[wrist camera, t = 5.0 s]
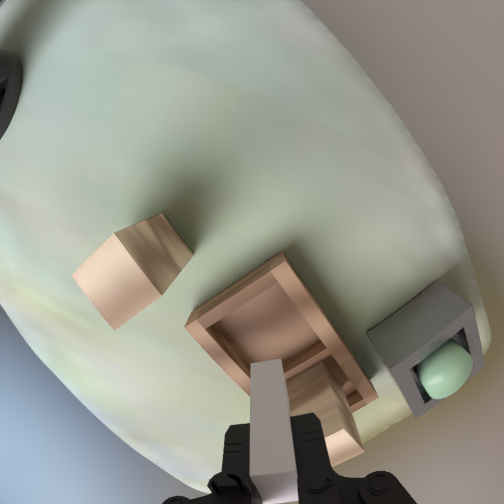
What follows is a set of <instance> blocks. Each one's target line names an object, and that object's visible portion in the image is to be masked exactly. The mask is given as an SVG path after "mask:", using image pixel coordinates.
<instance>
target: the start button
mask: <svg viewBox="0 0 504 504" xmlns="http://www.w3.org/2000/svg"><path fill="white" fill-rule="evenodd" d="M472 367H473V359H472V357H471V355H470V354H469V353H468V352H467V351H466V350H465V349H464V348H463V347H462V346H461V345H460V344H458V343H457V342H456V341H455V340H454V339H451V338H450V339H449V340H447V341H446V342H445V343H444V344H442V345H441V346H440V347H439V348H437V349H436V350H435V351H434V352H432V353H431V354H430V355H428V356H427V357H426V358H424V359H423V360H422V361H420V362H419V363H418V365H417V369H416V375H417V378H418V379H419V381H420V382H421V384H422V385H423V387H424V388H425V389H426V391H427V392H428V394H429V395H430V396H431V397H432V398H434V399H442V398H445V397H447V396H449V395H451V394H453V393H454V392H455V391H457V390H458V389H459V388H460V387H461V386H462V385H463V384H464V382H465V381H466V380H467V378H468V377H469V375H470V373H471V370H472Z"/></svg>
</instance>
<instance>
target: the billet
mask: <svg viewBox="0 0 504 504" xmlns="http://www.w3.org/2000/svg"><path fill="white" fill-rule="evenodd" d="M192 257H193V254H192V252H191V251H190V250H189V248H188V247H187V246H186V244H185V243H184V242H183V241H182V239H181V238H180V237H179V235H178V234H177V233H176V231H175V230H174V229H173V227H172V226H171V225H170V223H169V222H168V220H167V219H166V218H165V216H164V215H163V214H162V213H161V214H159V215H156V216H154V217H151V218H149V219H146V220H144V221H141V222H139V223H137V224H134V225H132V226H130V227H127V228H125V229H123V230H120V231H118V232H116V233H114V234H113V235H112V236H111V237H110V238H108V239H107V240H106V241H105V242H104V243H103V244H102V245H101V246H100V247H99V248H98V249H97V250H96V251H95V252H94V253H93V254H92V255H91V256H90V257H89V258H88V259H87V260H86V261H85V262H84V263H83V264H82V265H81V266H80V267H79V268H78V269H77V270H76V271H75V272H74V273H73V274H72V277H73V278H74V279H75V281H76V282H77V284H78V285H79V286H80V288H81V289H82V290H83V292H84V293H85V294H86V296H87V297H88V298H89V300H90V301H91V302H92V304H93V305H94V306H95V307H96V309H97V310H98V311H99V312H100V314H101V315H102V316H103V317H104V319H105V320H106V321H107V322H108V323H109V325H110V326H111V327H112V328H113V329H114V331H115V330H116V329H117V328H119V327H120V326H121V325H123V324H124V323H126V322H127V321H128V320H130V319H131V318H132V317H134V316H135V315H136V314H138V313H139V312H140V311H142V310H143V309H145V308H146V307H147V306H149V305H150V304H151V303H153V302H154V301H155V300H157V299H158V298H160V297H161V296H162V295H163V294H164V292H165V291H166V290H167V288H168V287H169V286H170V285H171V283H172V282H173V281H174V279H175V278H176V277H177V276H178V274H179V273H180V272H181V270H182V269H183V268H184V267H185V265H186V264H187V263H188V262H189V260H190V259H191V258H192Z"/></svg>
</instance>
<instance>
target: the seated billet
mask: <svg viewBox="0 0 504 504" xmlns="http://www.w3.org/2000/svg"><path fill="white" fill-rule="evenodd" d="M285 382H286V387H287V392H288V398H289V405H290V412H291V416H297V415H302V414H307V413H312V412H313V413H314V414H315V415H316V416H317V417H318V418H319V419H320V421H321V425H322V429H323V433H324V438H325V442H326V446H327V450H328V454H329V459H330V463H331V466H335V465H337V464H340V463H342V462H344V461H346V460H348V459H350V458H353V457H355V456H357V455H359V454H361V453H363V452H365V451H364V447H363V444H362V441H361V438H360V436H359V433H358V430H357V427H356V424H355V421H354V418H353V416H352V413H351V410H350V407H349V404H348V401H347V399H346V396H345V393H344V390H343V388H342V386H341V385H340V383H339V382H338V381H337V380H336V378H335V377H334V376H333V374H332V373H331V372H330V370H329V369H328V368H327V367H326V365H325V364H324V363H323V361H321V362H319V363H318V364H316V365H314V366H312V367H311V368H309V369H307V370H305V371H304V372H302V373H300V374H298V375H296V376H295V377H293V378H291V379H289V380H287V381H285Z"/></svg>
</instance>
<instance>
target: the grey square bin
mask: <svg viewBox="0 0 504 504" xmlns="http://www.w3.org/2000/svg"><path fill="white" fill-rule="evenodd" d="M367 335H368V337H369V338H370V340H371V342H372V343H373V345H374V347H375V349H376V350H377V352H378V354H379V355H380V357H381V359H382V361H383V362H384V364H385V366H386V368H387V369H388V371H389V373H390V375H391V376H392V378H393V380H394V382H395V383H396V385H397V387H398V389H399V390H400V392H401V394H402V395H403V397H404V399H405V401H406V402H407V404H408V406H409V407H410V409H411V411H412V413H413V414H414V416H415V418H418V417H419V416H421V415H422V414H424V413H425V412H427V411H428V410H429V409H431V408H432V407H434V406H435V405H436V404H438V403H439V402H441V401H442V400H443V399H445V398H446V397H445V398H442V399H434V398H432V397H431V396H430V395H429V394H428V392H427V391H426V389H425V388H424V387H423V385H422V384H421V382H420V381H419V379H418V378H417V375H416V369H417V365H418V363H419V362H420V361H422V360H423V359H424V358H426V357H427V356H428V355H430V354H431V353H432V352H434V351H435V350H436V349H437V348H439V347H440V346H441V345H442V344H444V343H445V342H446V341H447V340H449V339H450V338H451V339H454V340H455V341H456V342H457V343H458V344H460V345H461V346H462V347H463V348H464V349H465V350H466V351H467V352H468V353H469V354H470V355H471V357H472V359H473V367H472V370H471V373H470V375H469V377H468V378H467V380H469V379H470V378H471V377H472V376H473V375H475V374H476V373H477V372H478V371H479V370H480V369H481V368H482V367H483V366H484V359H483V352H482V347H481V342H480V337H479V332H478V327H477V323H476V318H475V314H474V310H473V306H472V304H470V303H469V302H467V301H466V300H464V299H463V298H462V297H460V296H459V295H457V294H456V293H454V292H453V291H451V290H450V289H448V288H447V287H445V286H444V285H442V284H441V283H439V282H438V281H435V282H434V283H433V284H432V285H430V286H429V287H428V288H427V289H426V290H424V291H423V292H422V293H420V294H419V295H418V296H417V297H415V298H414V299H413V300H411V301H410V302H409V303H408V304H406V305H405V306H404V307H402V308H401V309H400V310H398V311H397V312H395V313H394V314H393V315H391V316H390V317H389V318H387V319H386V320H384V321H383V322H381V323H380V324H379V325H377V326H376V327H374V328H373V329H371V330H370V331H368V332H367ZM467 380H466V381H467ZM466 381H465V382H466ZM465 382H464V383H465Z"/></svg>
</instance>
